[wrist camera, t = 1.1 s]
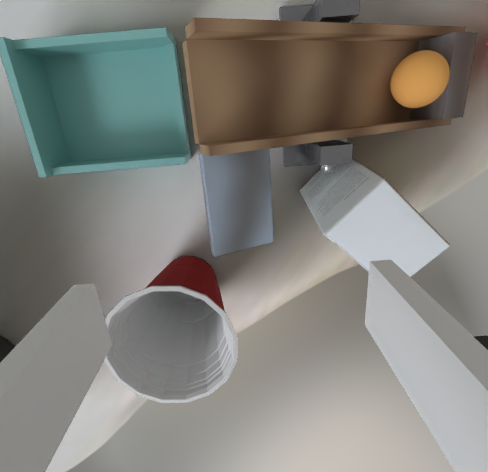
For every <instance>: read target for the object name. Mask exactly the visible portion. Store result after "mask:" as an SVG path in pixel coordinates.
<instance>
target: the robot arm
mask: <svg viewBox="0 0 488 472" xmlns="http://www.w3.org/2000/svg"><path fill="white" fill-rule="evenodd" d="M366 304H367V305H366V316H365V326H366V327H367V329H368V331H369V332H370V334H371V336H372V337H373V339H374V340H375V342H376V344H377V345H378V347H379V349H380V350H381V352H382V354H383V355H384V357H385V359H386V360H387V362H388V363H389V365H390V367H391V368H392V370H393V372H394V373H395V375H396V377H397V378H398V380H399V381H400V383H401V385H402V386H403V388H404V390H405V391H406V393H407V394H408V396H409V398H410V399H411V401H412V403H413V404H414V406H415V408H416V409H417V411H418V412H419V414H420V416H421V417H422V419H423V420H424V422H425V424H426V425H427V427H428V429H429V430H430V432H431V434H432V435H433V437H434V438H435V440H436V442H437V443H438V445H439V447H440V448H441V450H442V451H443V453H444V455H445V456H446V458H447V460H448V461H449V463H450V464H451V466H452V468H453V469H454V471H455V472H488V336H476V337H473V336H472V335H471V334H470V333H469V332H468V331H467V330H466V329H465V328H464V327H463V326H462V325H460V324H459V323H458V322H457V321H456V320H455V319H454V318H453V317H452V316H451V315H450V314H449V313H447V312H446V311H445V310H444V309H443V308H442V307H441V306H440V305H439V304H438V303H437V302H436V301H435V300H434V299H433V298H432V297H431V296H430V295H428V294H427V293H426V292H425V291H424V290H423V289H422V288H421V287H420V286H419V285H418V284H417V283H416V282H415V281H414V280H412V279H411V278H410V277H409V276H408V275H407V274H406V273H405V272H404V271H403V270H402V269H401V268H400V267H399V266H398V265H397V264H396V263H394V262H393V261H392V260H379V261H370V266H369V278H368V291H367V303H366ZM111 346H112V342H111V339H110V335H109V332H108V328H107V325H106V321H105V318H104V314H103V311H102V307H101V304H100V300H99V297H98V293H97V290H96V286H95V283H89V284H77V285H73V286H72V287H71V288H70V289H69V290H68V291H67V292H66V293H65V294H64V295H63V296H62V297H61V298H60V300H59V301H58V302H57V303H56V304H55V305H54V306H53V307H52V308H51V309H50V310H49V311H48V312H47V313H46V314H45V316H44V317H43V318H42V319H41V320H40V321H39V322H38V323H37V324H36V325H35V326H34V327H33V328H32V329H31V330H30V332H29V333H28V334H27V335H26V336H25V337H24V338H23V339H22V340H21V341H20V342H19V343H18V344H17V345H16V346H15V347H14V346H13V345H12V344H10V343H9V342H8V341H6V340H5V339H3V338H1V337H0V472H45V471H46V469H47V467H48V465H49V463H50V462H51V460H52V458H53V456H54V454H55V452H56V450H57V448H58V446H59V445H60V443H61V441H62V439H63V437H64V435H65V433H66V431H67V429H68V427H69V426H70V424H71V422H72V420H73V418H74V416H75V414H76V412H77V410H78V409H79V407H80V405H81V403H82V401H83V399H84V397H85V395H86V393H87V392H88V390H89V388H90V386H91V384H92V382H93V380H94V378H95V376H96V374H97V373H98V371H99V369H100V367H101V365H102V363H103V361H104V359H105V357H106V356H107V354H108V352H109V350H110V348H111Z"/></svg>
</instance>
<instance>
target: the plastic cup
mask: <svg viewBox="0 0 488 472" xmlns="http://www.w3.org/2000/svg"><path fill="white" fill-rule="evenodd" d="M105 321H106V325H107V328H108V332H109V335H110V339H111V342H112V346H111V348H110V350H109V352H108V354H107V356H106V357H105V359H104V362H105V363H106V365H107V366H108V368H109V370H110V371H111V373H112V374H113V376H114V377H115V379H116V380H117V381H118V382H119V383H121V384H122V385H124V386H125V387H126V388H128V389H129V390H130V391H132V392H133V393H135V394H136V395H138V396H141V397H144V398H148V399H151V400H154V401H157V402H161V403H187V402H190V401H193V400H196V399H199V398H202V397H204V396H208V395H210V394H211V393H212V392H214V391H215V390H216V389H217V388H218V387H220V386H221V385H222V384H223V383H224V382H226V381H227V380H228V378H229V376H230V374H231V372H232V370H233V368H234V366H235V364H236V362H237V359H238V356H237V355H238V351H237V350H238V347H237V346H238V345H237V344H238V338H237V337H238V336H237V334H236V332H235V330H234V328H233V326H232V324H231V322H230V320H229V318H228V316H227V314H226V312H225V311H224V307H223V302H222V298H221V293H220V289H219V287H218V284H217V279H216V275H215V274H214V272H213V270H212V268H211V266H210V265H209V264H208V263H206V262H205V261H204V260H202V259H200V258H197V257H194V256H183V257H181V258H178V259H176V260H174V261H172V262H171V263H170V264H169V265H168V266H167V267H166V268H165V269H164V270H163V271H162V272H161V273H160V274H159V275H158V276H157V277H156V278H155V279H154V280H153V281H152V282H151V283H150V284H149V285H148V286H147V287H146V288H145V289H143V290H140V291H138V292H135V293H133V294H130V295H128V296H125V297H124V298H123V299H122V300H121V301H120V302H119V303H118V304H117V305H116V306H115V307H114V308H113V309H112V310H111V311H110V312H109V313H108V314H107V317H106V320H105Z"/></svg>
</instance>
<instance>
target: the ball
mask: <svg viewBox="0 0 488 472" xmlns="http://www.w3.org/2000/svg"><path fill="white" fill-rule="evenodd" d="M449 76H450V70H449V65H448V63H447V61H446V59H445V58H444V57H443V56H442V55H441V54H439V53H437V52H435V51H431V50H423V51H418V52H415V53H412V54H410V55H409V56H407V57H406V58H404V59H403V60H402V61H401V62H400V63H399V64H398V66H397V67H396V68H395V70H394V72H393V74H392V77H391V82H390V89H391V93H392V96H393V97H394V99H395V100H396V101H397V102H398V103H399V104H400V105H402V106H405V107H408V108H419V107H423V106H426V105H428V104H430V103H432V102H433V101H435V100H436V99H437V98H438V97H439V96H440V95H441V94H442V93H443V91H444V90H445V88H446V86H447V84H448V81H449Z"/></svg>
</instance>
